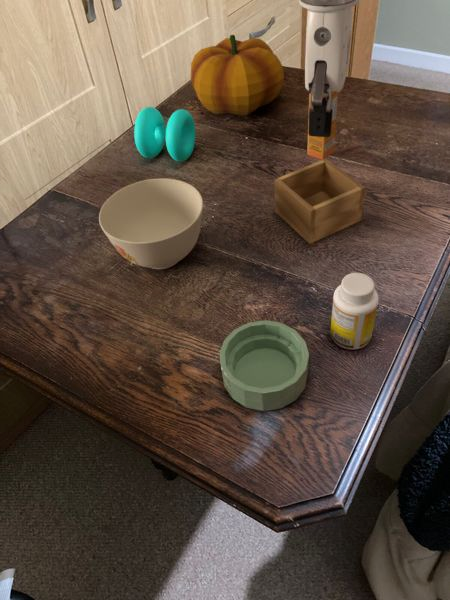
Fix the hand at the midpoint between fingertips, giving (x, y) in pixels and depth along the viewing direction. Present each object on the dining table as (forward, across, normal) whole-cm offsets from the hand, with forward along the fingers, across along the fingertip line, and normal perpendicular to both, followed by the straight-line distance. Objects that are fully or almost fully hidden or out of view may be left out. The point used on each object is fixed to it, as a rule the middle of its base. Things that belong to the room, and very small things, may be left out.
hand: (322, 125), depth 73 cm
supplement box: (+5, 0, 0) cm, 5 cm away
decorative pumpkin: (+17, +39, +25) cm, 49 cm away
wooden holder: (+17, 0, 0) cm, 17 cm away
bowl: (+17, -15, +23) cm, 32 cm away
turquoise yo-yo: (+17, +15, +33) cm, 40 cm away
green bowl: (+17, -34, +1) cm, 38 cm away
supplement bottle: (+17, -25, -9) cm, 32 cm away
